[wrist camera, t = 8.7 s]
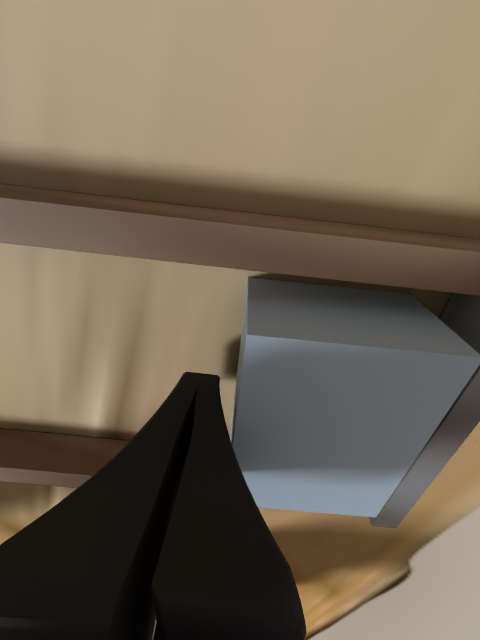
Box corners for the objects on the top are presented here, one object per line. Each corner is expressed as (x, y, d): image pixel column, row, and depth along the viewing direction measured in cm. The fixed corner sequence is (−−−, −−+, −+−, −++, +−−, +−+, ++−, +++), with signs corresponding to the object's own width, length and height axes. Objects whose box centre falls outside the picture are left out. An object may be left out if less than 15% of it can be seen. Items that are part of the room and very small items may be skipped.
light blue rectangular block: (346, 431, 15) (376, 517, 11) (231, 421, 14) (224, 504, 11) (407, 291, 11) (483, 358, 7) (248, 275, 10) (246, 334, 7)
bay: (376, 477, 16) (395, 527, 14) (-166, 426, 15) (-234, 470, 13) (517, 243, 9) (597, 270, 7) (-440, 133, 9) (-670, 126, 6)
